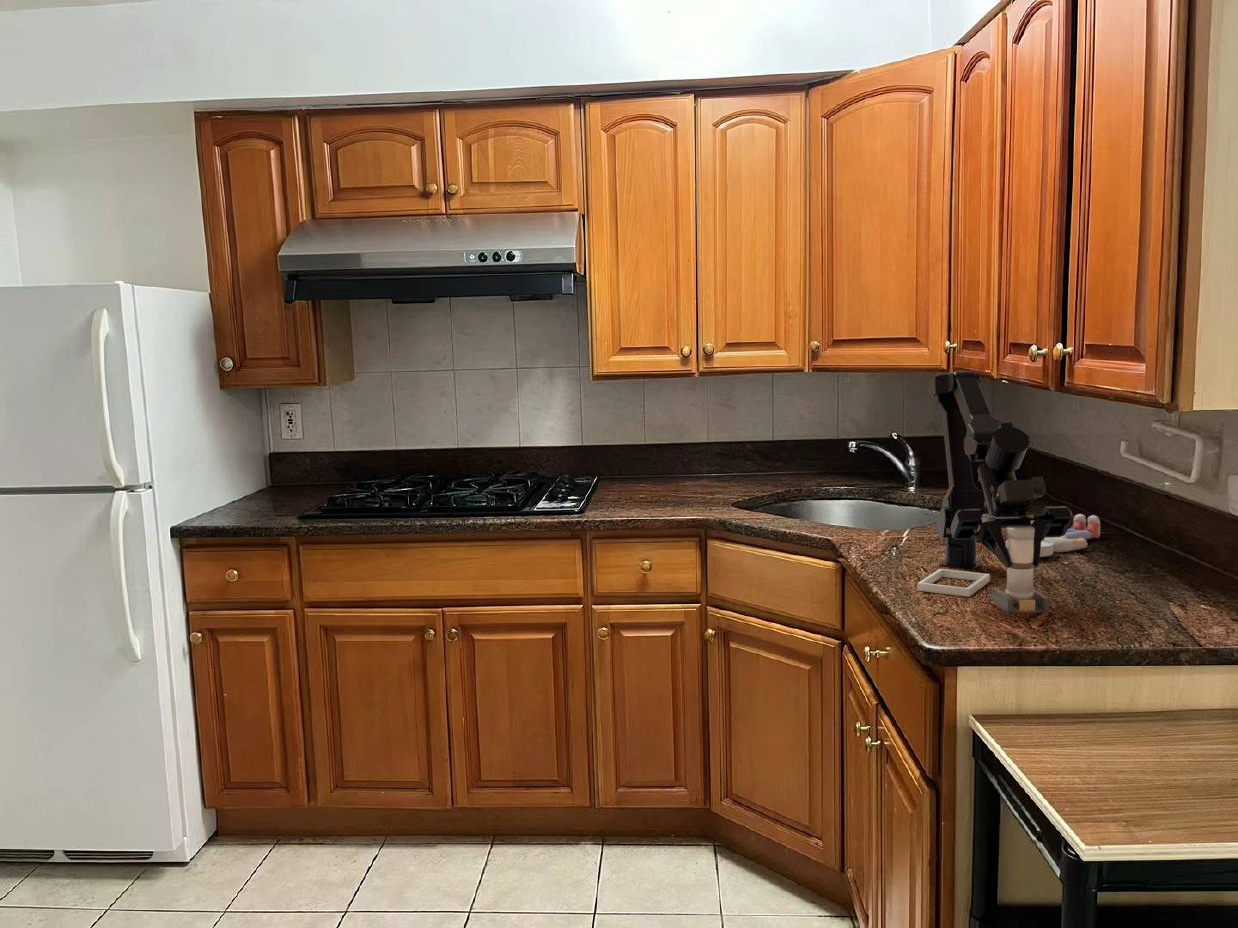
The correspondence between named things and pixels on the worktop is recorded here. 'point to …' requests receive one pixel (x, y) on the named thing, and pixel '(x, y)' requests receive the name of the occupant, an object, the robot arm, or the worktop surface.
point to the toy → (1072, 536)
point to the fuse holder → (1020, 602)
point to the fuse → (1020, 562)
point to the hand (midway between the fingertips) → (1023, 566)
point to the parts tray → (960, 591)
